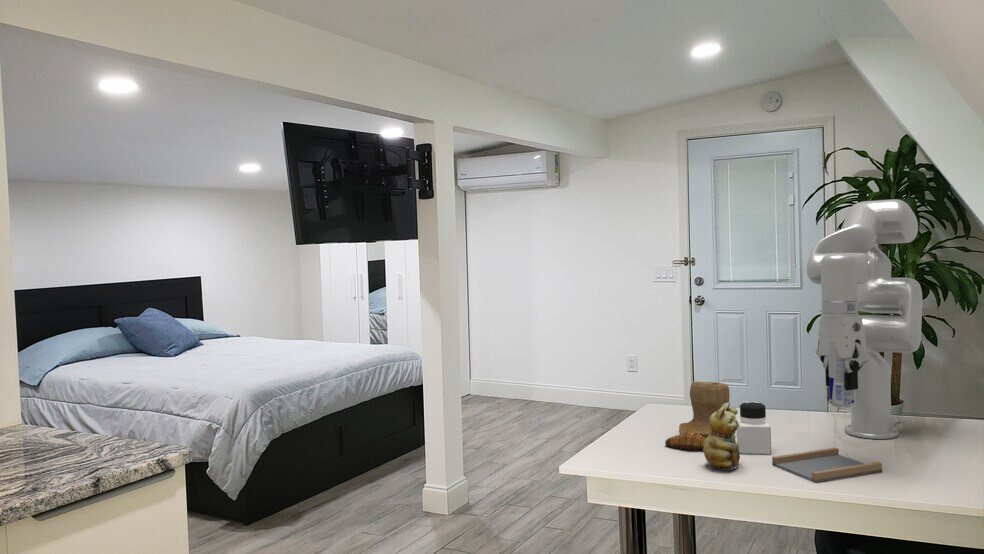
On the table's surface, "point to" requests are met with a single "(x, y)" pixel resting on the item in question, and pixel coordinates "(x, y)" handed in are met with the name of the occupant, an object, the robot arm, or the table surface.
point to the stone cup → (705, 405)
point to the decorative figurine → (722, 439)
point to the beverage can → (838, 380)
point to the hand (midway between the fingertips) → (841, 386)
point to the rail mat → (824, 465)
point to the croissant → (686, 441)
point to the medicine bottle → (753, 429)
